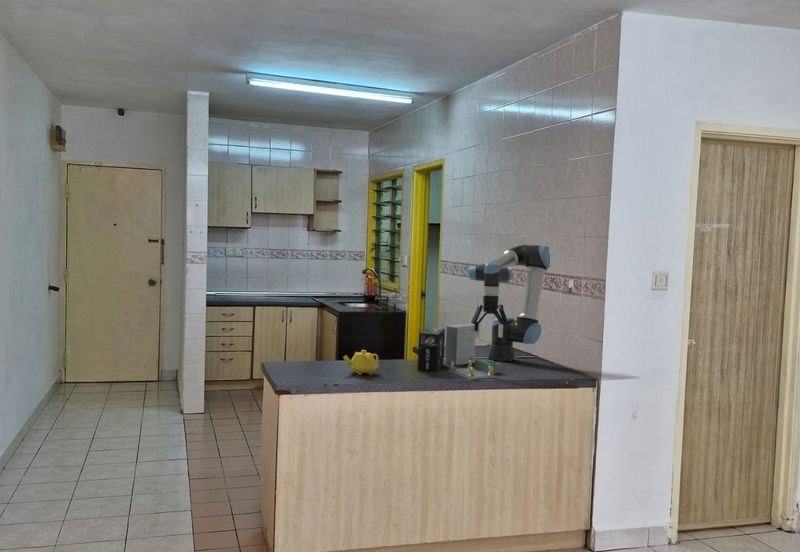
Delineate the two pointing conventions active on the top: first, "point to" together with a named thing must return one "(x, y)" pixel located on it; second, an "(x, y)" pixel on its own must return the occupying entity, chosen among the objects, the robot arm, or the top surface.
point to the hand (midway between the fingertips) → (488, 337)
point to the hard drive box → (460, 344)
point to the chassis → (471, 371)
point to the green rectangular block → (487, 365)
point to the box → (431, 349)
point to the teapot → (362, 362)
